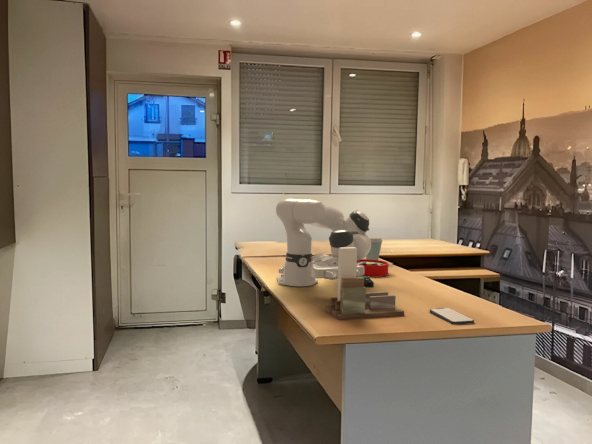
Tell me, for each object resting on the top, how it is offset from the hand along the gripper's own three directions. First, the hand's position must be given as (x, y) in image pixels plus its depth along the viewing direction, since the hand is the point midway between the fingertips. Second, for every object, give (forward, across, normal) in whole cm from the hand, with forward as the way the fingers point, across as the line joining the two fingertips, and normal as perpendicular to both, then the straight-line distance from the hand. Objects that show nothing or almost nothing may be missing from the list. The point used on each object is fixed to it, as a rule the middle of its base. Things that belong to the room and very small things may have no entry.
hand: (346, 274), depth 172 cm
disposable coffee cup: (-94, -58, -14) cm, 111 cm away
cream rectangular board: (+4, +1, -12) cm, 12 cm away
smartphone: (+18, -33, -14) cm, 40 cm away
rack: (+5, -5, -13) cm, 15 cm away
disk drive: (-41, -25, -14) cm, 50 cm away
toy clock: (-64, -41, -14) cm, 78 cm away
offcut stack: (+9, +1, -12) cm, 15 cm away
